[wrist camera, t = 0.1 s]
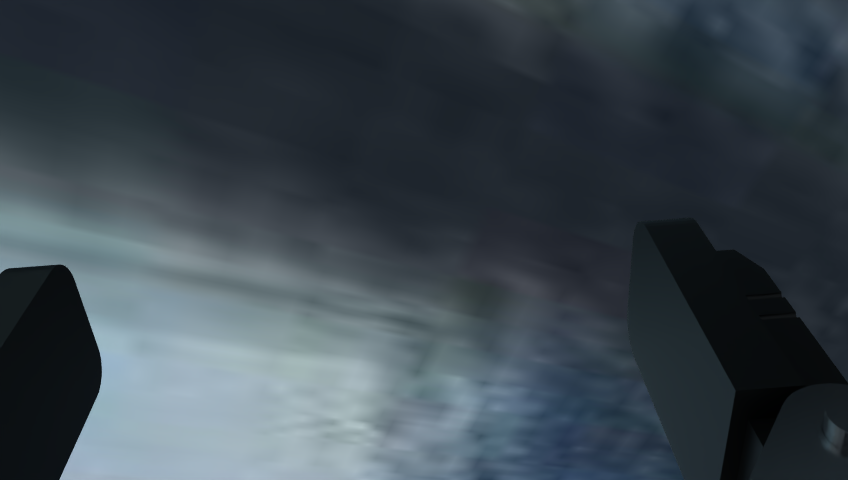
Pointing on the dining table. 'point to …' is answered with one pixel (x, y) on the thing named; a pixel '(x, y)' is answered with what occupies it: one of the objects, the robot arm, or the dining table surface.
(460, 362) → the dining table surface
